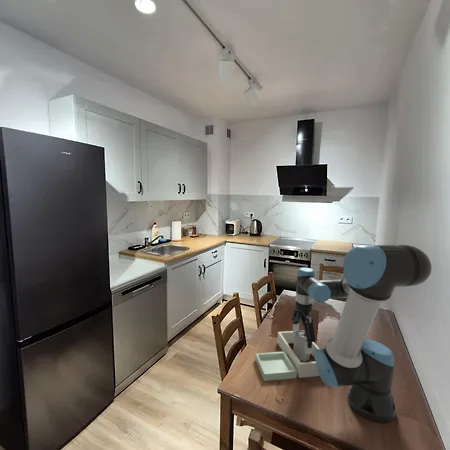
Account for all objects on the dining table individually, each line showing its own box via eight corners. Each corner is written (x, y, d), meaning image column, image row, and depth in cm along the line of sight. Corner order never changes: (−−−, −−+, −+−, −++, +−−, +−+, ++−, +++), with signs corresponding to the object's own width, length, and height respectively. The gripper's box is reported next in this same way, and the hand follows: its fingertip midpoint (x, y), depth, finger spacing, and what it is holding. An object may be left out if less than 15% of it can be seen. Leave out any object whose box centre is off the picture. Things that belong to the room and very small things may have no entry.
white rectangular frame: (329, 374, 111) (330, 361, 110) (298, 377, 108) (299, 364, 108) (303, 341, 136) (303, 330, 135) (277, 342, 134) (277, 331, 133)
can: (310, 363, 118) (311, 338, 117) (293, 361, 119) (294, 336, 118) (308, 353, 125) (309, 330, 124) (292, 351, 127) (293, 328, 125)
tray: (296, 378, 108) (296, 371, 108) (264, 381, 106) (264, 374, 106) (284, 357, 122) (284, 351, 122) (255, 359, 120) (255, 353, 120)
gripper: (326, 313, 108) (322, 361, 110) (300, 290, 132) (297, 329, 135) (308, 314, 106) (305, 362, 109) (286, 291, 131) (284, 330, 134)
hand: (301, 344), depth 122 cm, fingers open, 13 cm apart
